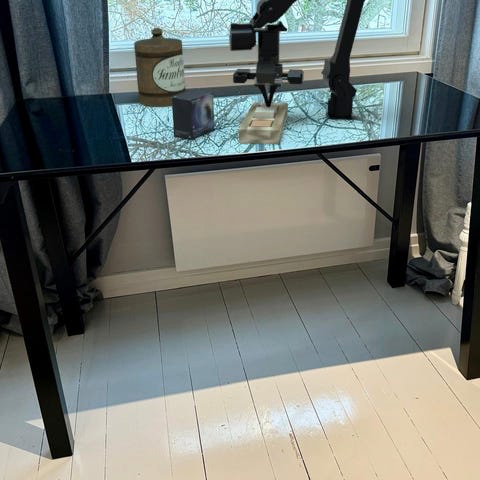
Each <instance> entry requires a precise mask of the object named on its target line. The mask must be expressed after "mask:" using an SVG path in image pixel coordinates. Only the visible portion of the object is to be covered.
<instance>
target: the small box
mask: <svg viewBox="0 0 480 480" xmlns="http://www.w3.org/2000/svg"><path fill="white" fill-rule="evenodd" d="M171 99H172V106H171V110H172V113H171V114H172V124H173V125H172V127H173V136H174V137H176V138H183V139H187V140H194V139H196V138H198V137H201V136H204V135H205V134H208V133H210V132H212V131H214V130H215V108H214V107H215V106H214V105H215V104H214V103H215V102H214V91H211V90H206V89H200V88H193V89H189V90H186V92H184V93H181V94H178V95H175V96H172V97H171Z"/></svg>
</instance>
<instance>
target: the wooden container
mask: <svg viewBox="0 0 480 480" xmlns="http://www.w3.org/2000/svg"><path fill="white" fill-rule="evenodd" d="M150 34H151V35H152V36H151V38H143V39H140V40H139V39H138V40H136V41H134V43H133V45H134V46H133V47H134V54H135V55H134V57H135V67H136V83H137V90H138V101H139V102H138V103H139V104H140V105H143V106H146V107H152V108H153V107H155V108H163V107H172V99H171V97H172V96H175V95H178V94H181V93H184V92H186V91H187V90H186V77H185V75H186V74H185V65H184V54H183V52H184V51H183V41H182V39H179V38H174V37H173V38H171V37H165V36H164V35H163V29H161V28H159V27H154V28H153V29H152V30H151V33H150Z"/></svg>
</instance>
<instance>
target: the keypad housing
mask: <svg viewBox="0 0 480 480" xmlns="http://www.w3.org/2000/svg"><path fill="white" fill-rule="evenodd" d="M260 105H266V104H265V101H263V102H261V101H259V102H258V101H257V102H255V101H254V102H253V103H252V104H251V105H250V108H249V110H248V112H247V113H246V115H245V116H244V119H243V120H242V122H241V124H240V126H239V127H238V143H239V144H263V145H265V144H266V145H272V144H273V145H279V144H280V141H281V139H282V138H281V137H282V134H283V132H284V128H285V126H286V121H287V118H288V115H289V114H288V113H289V103H288V102H272V103H271V105H275V106H278V111H275V119H273V118H254V112H255V110H256V108H257V107H260ZM253 120H260V121H272V127H252V126H251V124H252V122H253Z"/></svg>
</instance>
